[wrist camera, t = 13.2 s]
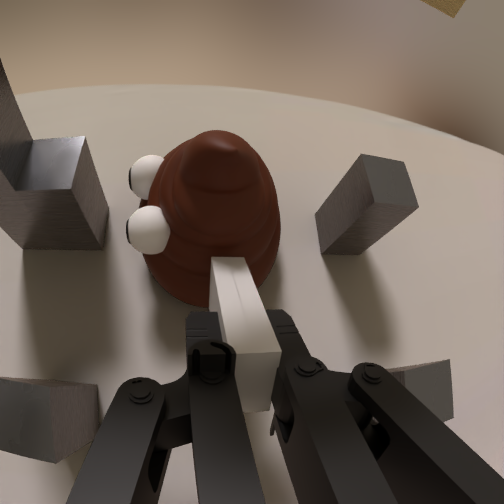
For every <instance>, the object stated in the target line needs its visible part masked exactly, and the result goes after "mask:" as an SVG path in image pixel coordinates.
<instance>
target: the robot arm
mask: <svg viewBox="0 0 504 504" xmlns="http://www.w3.org/2000/svg"><path fill="white" fill-rule="evenodd" d="M186 355H187V370H186V372H185V374H184V375H183V376H182V377H181V378H179V379H178V380H176V381H174V382H171V383H168V384H164V385H160V384H159V383H158V382H157V381H155V380H152V379H150V378H143V377H137V378H133V379H129V380H128V381H126V382H124V383H123V384H122V385H121V386H120V387H119V389H118V390H117V392H116V395H115V397H114V399H113V401H112V403H111V405H110V407H109V409H108V411H107V413H106V415H105V417H104V419H103V421H102V424H101V426H100V428H99V430H98V432H97V434H96V436H95V438H94V441H93V443H92V445H91V447H90V449H89V452H88V454H87V456H86V458H85V460H84V463H83V465H82V467H81V469H80V472H79V474H78V476H77V479H76V481H75V483H74V486H73V488H72V490H71V493H70V495H69V497H68V500H67V502H66V504H158V500H159V496H160V492H161V488H162V485H163V481H164V477H165V473H166V469H167V465H168V462H169V458H170V454H171V450H172V448H175V447H178V446H182V445H185V444H189V443H192V448H193V458H194V468H195V477H196V486H197V494H198V502H199V504H266V503H265V499H264V496H263V492H262V488H261V484H260V480H259V476H258V473H257V469H256V465H255V461H254V457H253V453H252V448H251V444H250V440H249V436H248V432H247V428H246V423H245V419H244V415H243V413H248V412H260V411H269V410H270V405H271V401H272V404H273V407H274V410H275V412H274V416H273V420H272V424H271V428H270V436H272V435H274V431H275V430H276V433H277V437H278V440H279V443H280V446H281V450H282V453H283V456H284V459H285V462H286V465H287V469H288V472H289V475H290V478H291V481H292V484H293V487H294V490H295V493H296V497H297V500H298V503H299V504H504V479H503V478H502V477H501V476H500V475H499V474H498V473H497V472H496V471H495V470H494V469H493V468H492V467H490V466H489V465H488V464H487V463H486V462H485V461H484V460H483V459H482V458H481V457H480V456H479V455H478V454H477V453H475V452H474V451H473V450H472V449H471V448H470V447H469V446H468V445H467V444H466V443H465V442H464V441H463V440H461V439H460V438H459V437H458V436H457V435H456V434H455V433H454V432H453V431H452V430H451V429H450V428H449V427H447V426H446V425H445V424H444V423H443V422H442V421H441V420H440V419H439V418H438V417H437V416H436V415H435V414H433V413H432V412H431V411H430V410H429V409H428V408H427V407H426V406H425V405H424V404H423V403H422V402H421V401H419V400H418V399H417V398H416V397H415V396H414V395H413V394H412V393H411V392H410V391H409V390H408V389H406V388H405V387H404V386H403V385H402V384H401V383H400V382H399V381H398V380H397V379H396V378H395V377H393V376H392V375H391V374H390V373H389V372H388V371H387V370H386V369H384V368H383V367H381V366H380V365H377V364H374V363H367V362H365V363H360V364H358V365H356V366H355V367H354V369H353V371H352V373H344V372H335V371H330V370H328V369H327V367H326V366H325V365H324V364H323V362H321V361H320V360H318V359H317V358H314V357H311V355H310V353H309V351H308V349H307V347H306V345H305V343H304V341H303V339H302V337H301V335H300V334H299V331H298V329H297V328H296V327H295V324H294V322H293V320H292V318H291V316H290V315H288V314H287V313H286V312H285V311H283V310H282V309H281V310H265V309H264V306H263V304H262V301H261V299H260V296H259V294H258V291H257V289H256V286H255V284H254V281H253V279H252V276H251V274H250V271H249V269H248V266H247V264H246V261H245V259H244V257H211V272H210V295H209V312H191V313H190V314H189V316H188V317H187V318H186ZM373 417H374V418H375V419H376V420H377V421H378V422H379V423H378V422H375V421H374V420H373V419H372V418H373Z"/></svg>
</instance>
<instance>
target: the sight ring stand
mask: <svg viewBox="0 0 504 504" xmlns="http://www.w3.org/2000/svg"><path fill="white" fill-rule="evenodd" d="M421 1H423V2H425V3H427V4H429V5H430V6H432V7H434V8H436V9H438V10H440V11H441V12H443V13H445V14H447V15H449V16H450V17H452V18H454V17H455V15H456V14H457V12H458V11H459V9H460V8H461V7H462V5H463V4H464V2H465V0H421ZM32 142H33V139H32V137H31V135H30V132H29V130H28V128H27V126H26V123H25V121H24V119H23V117H22V114H21V112H20V109H19V107H18V105H17V102H16V100H15V97H14V95H13V92H12V90H11V87H10V84H9V81H8V79H7V76H6V73H5V70H4V68H3V65H2V62H1V59H0V227H1V228H2V229H3V230H4V231H5V232H6V233H7V234H8V235H9V236H10V237H11V238H12V239H13V240H14V241H15V242H16V243H17V244H18V245H19V246H20V247H21V248H22V249H54V250H60V249H59V248H58V246H57V245H56V244H55V243H54V241H53V240H52V239H51V238H50V237H49V235H48V234H47V233H46V232H45V230H44V229H43V228H42V226H41V225H40V224H39V223H38V221H37V220H36V219H35V217H34V216H33V215H32V213H31V212H30V211H29V209H28V208H27V207H26V205H25V204H24V203H23V201H22V200H21V198H20V197H19V196H18V194H17V193H16V191H15V190H16V187H17V184H18V181H19V178H20V175H21V172H22V169H23V166H24V163H25V160H26V157H27V155H28V152H29V149H30V147H31V144H32Z"/></svg>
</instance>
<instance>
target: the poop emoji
mask: <svg viewBox="0 0 504 504" xmlns="http://www.w3.org/2000/svg"><path fill="white" fill-rule="evenodd" d="M129 185H130V189H131V190H132V191H133V192H134V193H135V194H136V195H137V196H138V197H140V198H141V202H140V206H139V209H138V210H136V211H135V212H134V213H133V214H132V215H131V217H130V219H128V221H127V224H126V235H127V239H128V242H129V243H130V244H131V245H132V246H133V247H134V248H135V249H136V250H138V251H139V252H141V253H143V256H144V259H145V261H146V264H147V266H148V268H149V270H150V271H151V273H152V275H153V276H154V278H155V279H156V280H157V282H158V283H159V284H160V285H161V286H162V287H163V288H164V289H165V290H166V291H167V292H168V293H170V294H171V295H172V296H174V297H175V298H177V299H179V300H181V301H183V302H185V303H188V304H191V305H194V306H199V307H207V308H209V295H210V272H211V257H244V259H245V261H246V264H247V266H248V269H249V271H250V274H251V276H252V279H253V281H254V284H255V286H256V289H257V288H258V287H259V286H260V285H261V284H262V283H263V282H264V280H265V279H266V277H267V276H268V274H269V272H270V270H271V268H272V266H273V264H274V261H275V258H276V255H277V252H278V247H279V242H280V231H281V223H280V212H279V206H278V200H277V194H276V189H275V186H274V182H273V180H272V177H271V175H270V172H269V170H268V168H267V167H266V165H265V163H264V162H263V160H262V159H261V157H260V156H259V155H258V153H257V152H256V151H255V150H254V149H253V148H252V147H251V146H250V145H249V144H248V143H247V142H246V141H245V140H244V139H242V138H241V137H239V136H238V135H235V134H233V133H230V132H227V131H221V130H212V131H206V132H203V133H201V134H199V135H197V136H196V137H194V138H192V139H190V140H188V141H186V142H184V143H182V144H180V145H179V146H178V147H176V148H175V149H173V150H172V151H171V152H169V153H168V154H167V155H166V156H165V157H164V158H162V157H160V156H156V155H147V156H144V157H142V158H140V159H138V160H137V161H136V162H135V163H134V165H133V166H132V168H130V170H129Z"/></svg>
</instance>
